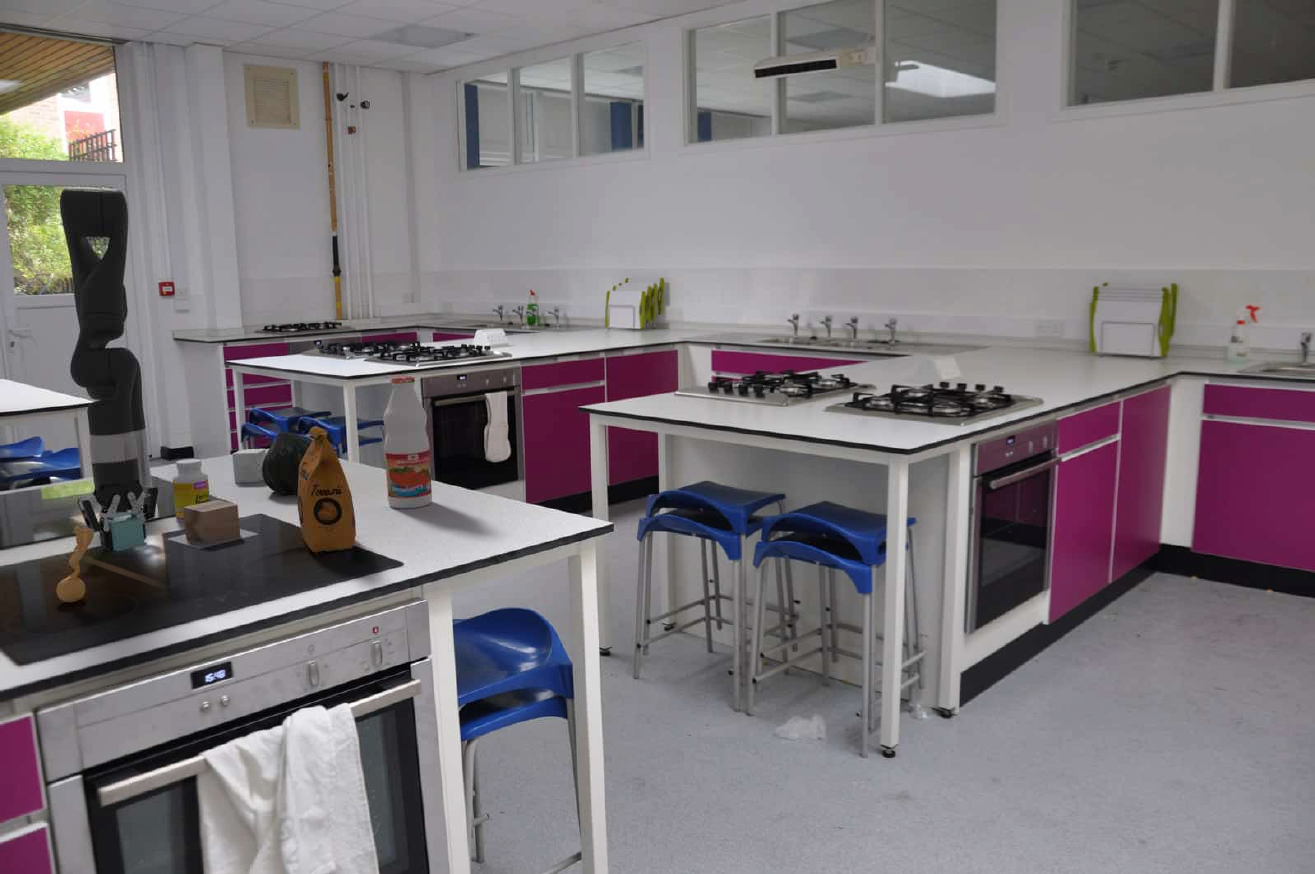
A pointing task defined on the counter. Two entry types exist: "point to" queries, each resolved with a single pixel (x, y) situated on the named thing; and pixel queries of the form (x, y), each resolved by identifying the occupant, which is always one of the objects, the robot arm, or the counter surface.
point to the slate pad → (200, 545)
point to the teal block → (127, 532)
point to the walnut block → (211, 521)
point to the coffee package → (324, 497)
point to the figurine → (73, 586)
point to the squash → (284, 462)
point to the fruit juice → (406, 447)
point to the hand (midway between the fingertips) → (124, 546)
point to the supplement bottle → (189, 486)
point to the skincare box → (248, 465)
